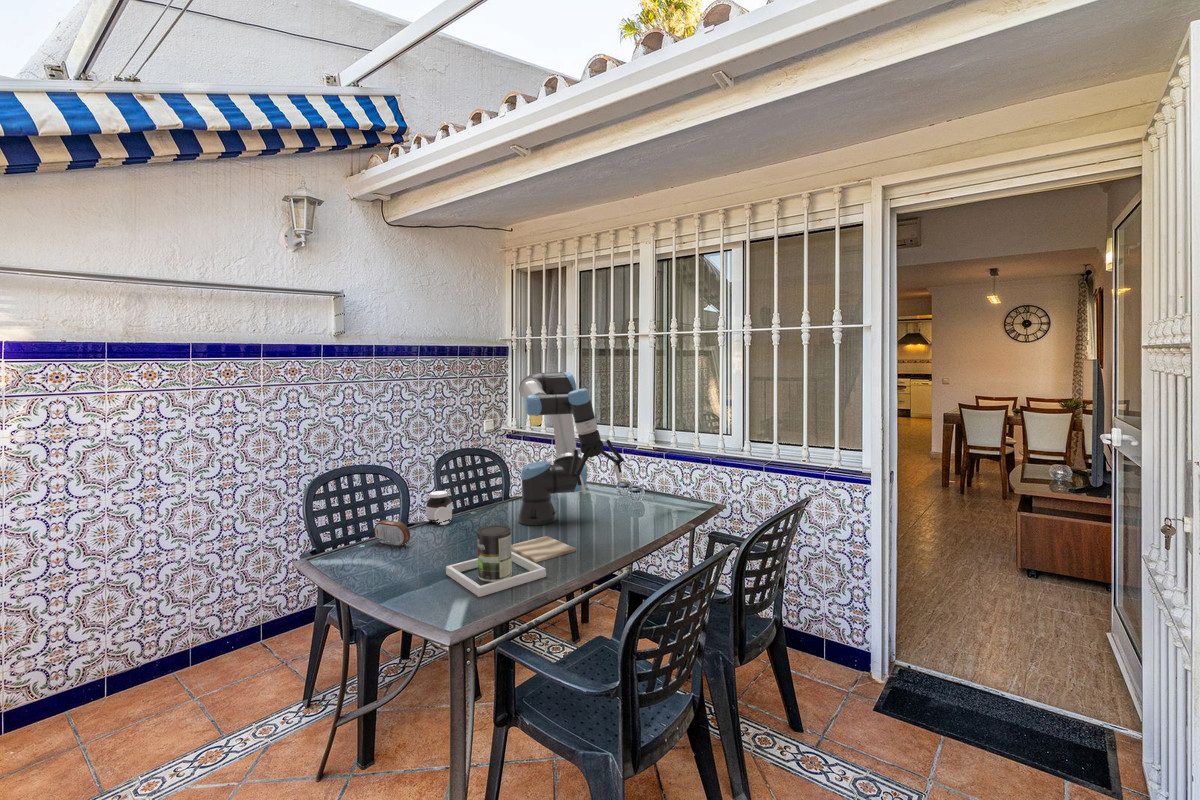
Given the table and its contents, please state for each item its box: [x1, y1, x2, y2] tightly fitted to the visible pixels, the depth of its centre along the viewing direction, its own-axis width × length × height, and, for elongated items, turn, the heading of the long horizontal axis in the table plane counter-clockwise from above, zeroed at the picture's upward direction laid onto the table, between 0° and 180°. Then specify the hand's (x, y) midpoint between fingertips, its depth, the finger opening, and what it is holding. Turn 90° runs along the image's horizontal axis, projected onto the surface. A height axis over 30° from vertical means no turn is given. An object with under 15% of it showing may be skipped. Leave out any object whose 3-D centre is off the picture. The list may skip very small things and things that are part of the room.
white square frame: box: [445, 550, 547, 598], centre depth 171 cm, size 22×22×2 cm
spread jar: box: [425, 490, 453, 526], centre depth 229 cm, size 12×11×12 cm
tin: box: [373, 519, 411, 547], centre depth 202 cm, size 15×3×8 cm, turn 65°
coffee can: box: [476, 524, 513, 583], centre depth 171 cm, size 10×10×14 cm
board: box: [511, 535, 577, 563], centre depth 193 cm, size 18×16×1 cm
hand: (602, 487), depth 205 cm, fingers open, 13 cm apart
